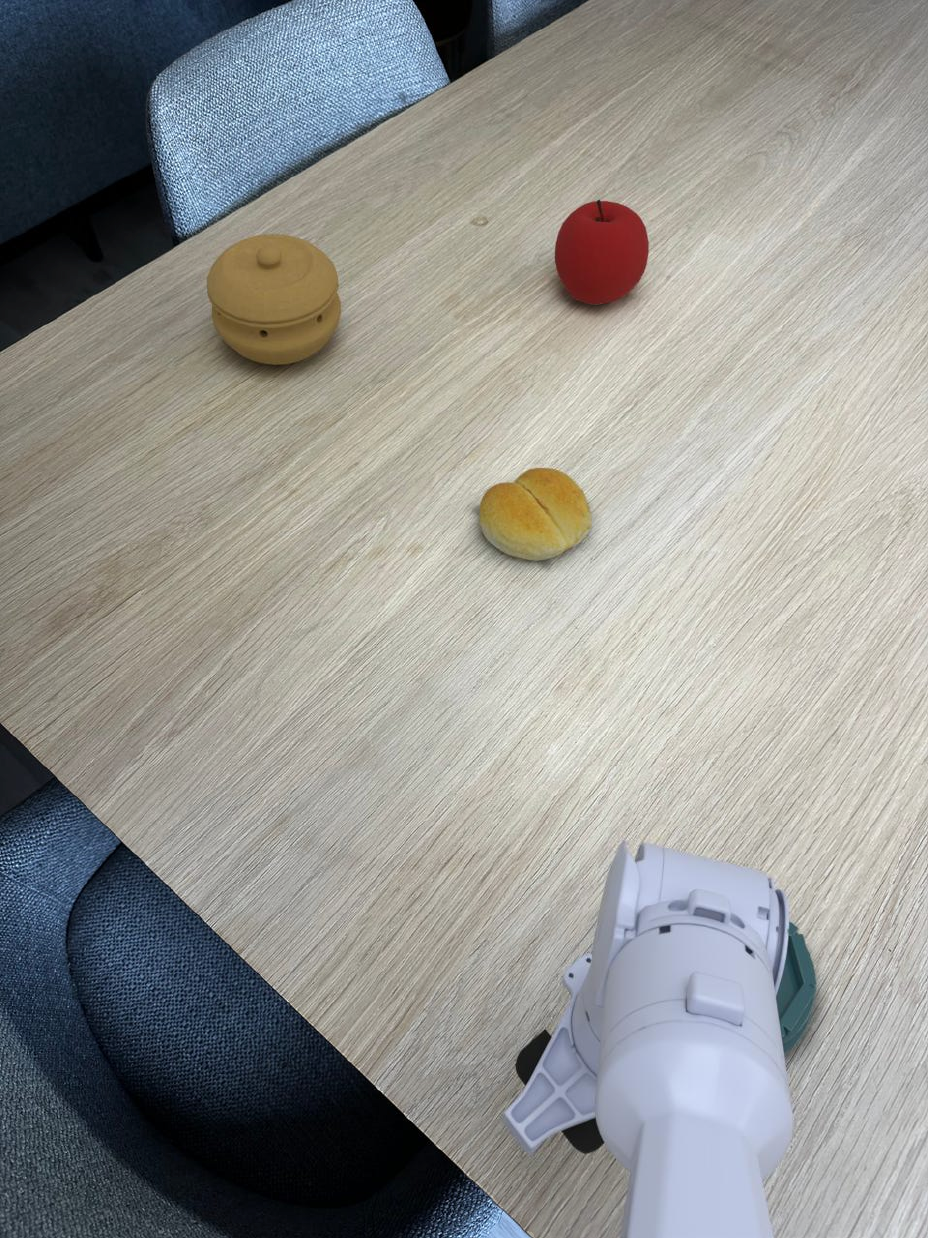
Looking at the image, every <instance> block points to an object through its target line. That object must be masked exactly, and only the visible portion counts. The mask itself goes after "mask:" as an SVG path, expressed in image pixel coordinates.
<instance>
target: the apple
mask: <svg viewBox="0 0 928 1238" xmlns="http://www.w3.org/2000/svg"><path fill="white" fill-rule="evenodd" d="M647 231H648V230H647V227H646V225H645V224H644V221H643V220H642V218H641V217H640V215H639V214H638V213H637V212H636V211H634V210H633V209H631V208H630V207H629V206H627V205H624V204H621V203H619V202H615V201H609V200H600V199H597V200H596V201H590V202H586V203H584V204H582V205H580V206H579V207H577V208H576V209H575V210H573V211H572V212H571V213H570V214H569V215H568V216H567V217H566V219H565V220H564V221H562V224H561V226H560V228H559V230H558V233H557V236H556V240H555V244H554V245H555V246H554V247H555V248H554V264H555V270H556V273H557V275H558V276H557V277H558V278H559V281H560V282H561V284H562V285H563V288H564V289H565V290H566V291H567V292H568V294H570V296H571V297H572V298H573V299H574V300H576V301H578V302H580V303H582V304H588V305H602V304H608V303H614V302H615V303H616V302H617V301H619V300H621V299H622V298H624V297H625V296H626V295H628V294H629V293H630V292H631V291H632V290H634V288H635V287H636V286H637V285H638V284H639V282H640V281H641V279H642V277H643V275H644V273H645V271H646V268H647V265H648V259H649V254H650V253H649V252H650V251H649V250H650V249H649V247H650V241H649V236H648V232H647Z"/></svg>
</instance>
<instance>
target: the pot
mask: <svg viewBox="0 0 928 1238" xmlns="http://www.w3.org/2000/svg"><path fill="white" fill-rule="evenodd" d="M206 290H207V291H206V293H207V296H208V299H209V302H210V305H211V320H212V324H213V326H214V329H215V331H216V332H217V333H218V335H219V336H220V338H221V339H222V340H223V341H224V342H225V343H226V344H227V345H228V346H229V347H230V348H231V349H233V350H234V351H235V352H236V353H238V354H239V355H240V356H242V357H245V358H246V359H248V360H251V361H253V362H256V363H259V364H264V365H271V366H272V365H273V366H276V365H278V366H279V365H289V364H294V363H298V362H301V361H303V360H306V359H308V358H310V357H312V356H313V355H315V354H317V353H318V352H319V351H320V350H321V349H322V348H323V347H324V346H325V345H327V343H328V342H329V340H330V339H331V337H332V336H333V334H334V333H335V331H336V329H337V328H338V325H339V322H340V320H341V319H340V318H341V316H342V302H341V299H340V296H339V294H338V290H339V276H338V271H337V269H336V267H335V264H334V262H333V261H332V260H331V259H330V258H329V257H328V256H327V254H326V253H325V252H324V251H322V249H320V248H319V247H317V246H315V245H314V244H313V243H311V242H309V241H307V240H304V239H302V238H300V237H297V236H294V235H289V234H280V233H265V234H259V235H253V236H250V237H246V238H244V239H241V240H239V241H237V242H235V243H234V244H232V245H231V246H229V247H227V249H225V250H224V251H222V252H221V254H219V256H218V257H217V259H215V261H214V262H213V263H212V265H211V267H210V269H209V272H208V274H207V276H206Z"/></svg>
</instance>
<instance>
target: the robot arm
mask: <svg viewBox="0 0 928 1238" xmlns="http://www.w3.org/2000/svg"><path fill="white" fill-rule="evenodd" d="M789 907H790V905H789V900H788V897H787V893H786V892H785V890H784V889H780V888H778V889H776V884H775V879H774V878H773V877H768V875H767V873H766V872H765V871H762V870H759V869H757V868H756V869H755V868H752V867H748V866H743V865H739V864H735V863H731V862H728V861H722V860H719V859H716V858H711V857H707V856H703V855H698V854H695V853H690V852H687V851H682V850H678V849H673V848H671V847H666V846H661V845H658V844H653V843H650V842H645V841H642V842H641V843H640V844H639V846H638V849H637V852H636V854H635V857H634V856H633V855H632V853H631V851H628V843H627V840H626V839H624V838H623V839H622V840H621V842H620V844H619V846H618V848H617V850H616V853H615V855H614V857H613V858H612V861H611V863H610V866H609V869H608V872H607V876H606V879H605V883H604V888H603V893H602V896H601V900H600V906H599V911H598V913H597V914H598V915H597V920H596V926H595V929H594V930H595V931H594V936H593V944H592V952H591V953H590V952H587V953H584V954H582V955H581V956H580V957H579V958H577V959H576V960H575V961H574V962H573V963H571V964H570V965H569V966H568V967H566V968H565V970H564V972H563V974H562V976H561V977H562V979H561V983H562V985H563V986H564V988H565V989H566V991H568V993H569V995H570V1001H569V1003H568V1005H567V1007H566V1009H565V1010H564V1013H563V1015H562V1017H561V1019H560V1021H559V1022H558V1025H557V1026H556V1028H555V1030H554V1032H553V1034H552V1035H551V1034H550V1033H549V1032H548V1030H547V1029H546V1028H544V1029H543V1030H542V1031H541V1032H539V1033H538V1035H537V1036H535V1037H534V1038H533V1039H532V1040H530V1041H529V1042H528V1044H526V1045H525V1046H524V1047H522V1049H521V1050H520V1051H519V1053H518V1055H517V1057H516V1060H515V1065H514V1068H515V1072H516V1075H517V1077H518V1078H519V1080H520V1081H521V1082H522V1084H523V1085H524V1088H523V1089H522V1090H521V1093H520V1094H519V1095H518V1096H517V1097H516V1098H515V1100H514V1101H513V1102H512V1103H511V1104H510V1105H509V1106H508V1107H507V1108H506V1109H505V1110H504V1111H503V1113H502V1117H501V1122H502V1124H503V1125H504V1126H505V1128H506V1129H507V1130H508V1132H509V1133H510V1135H511V1136H512V1137H513V1139H514V1140H515V1141H516V1143H517V1144H518V1145H519V1146H520V1147H521V1149H522V1150H523V1151H524V1153H525V1154H526V1155H527V1156H531V1155H532V1154H533V1153H534V1152H535V1151H537V1149H539V1148H540V1147H541V1146H542V1144H543V1143H544V1142H545V1141H546V1140H547V1139H549V1138H550V1137H552V1136H554V1135H556V1134H558V1133H561V1134H562V1135H563V1136H564V1138H566V1139H567V1141H568V1142H569V1144H570V1145H571V1146H572V1147H573V1148H574V1149H575V1150H576V1151H578V1152H580V1153H582V1154H584V1155H587V1154H591V1153H594V1152H596V1151H597V1150H599V1149H600V1148H601V1147H602V1146H603V1145H605V1146H606V1148H607V1149H608V1151H609V1152H610V1153H611V1155H612V1156H613V1157H614V1158H615V1159H616V1161H617V1163H619V1164H620V1165H621V1166H622V1167H623V1168H624V1169H625V1170H626V1171H627V1172H629V1175H628V1177H629V1178H628V1182H627V1188H626V1189H627V1190H626V1194H625V1195H626V1196H625V1203H624V1209H623V1214H622V1215H623V1216H622V1221H621V1222H622V1223H621V1227H620V1229H621V1230H620V1236H619V1238H775V1236H774V1230H773V1226H772V1222H771V1217H770V1212H769V1211H770V1210H769V1206H768V1202H767V1195H766V1192H765V1187H764V1182H763V1181H765V1180H767V1178H769V1177H770V1176H772V1175H773V1173H774V1172H775V1171H776V1169H778V1167H779V1165H780V1164H781V1163H782V1161H784V1160H785V1157H786V1155H787V1152H788V1150H789V1148H790V1145H791V1141H792V1137H793V1133H794V1114H793V1106H792V1100H791V1093H790V1086H789V1077H788V1073H787V1066H786V1058H785V1055H784V1051H783V1044H782V1037H781V1030H780V1023H779V1016H778V1009H777V1002H776V995H777V992H778V988H779V985H780V982H781V978H782V974H783V970H784V965H785V960H786V954H787V946H788V935H789V921H790V908H789Z"/></svg>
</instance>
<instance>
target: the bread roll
mask: <svg viewBox="0 0 928 1238" xmlns="http://www.w3.org/2000/svg"><path fill="white" fill-rule="evenodd" d="M584 492H585V491H584V490H583V489H582V488H581V487H580V486H579V484H578V483H577V481H575V480H574V478H573V477H572V476H571V475H569V474H567V473H566V472H563V471H561V470H559V469H556V468H549V467H535V468H530V469H527V470H526V471H524V472H523V473H521V474H520V475H519V476H518V477H517V478H516V479H515V480H514V481H513V482H500V483H497V484H494V485H492V486H491V487H489V489H487V490H486V491H485V492H484V494H483V496H482V498H481V501H480V504H479V509H478V517H479V525H480V529H481V531H482V534H483V535H484V537H485V539H486V540H487V541H488V543H490V544H491V545H492V546H493V547H494V548H495V549H497V550H498V551H500V552H502V553H504V554H506V555H508V556H512V557H515V558H519V559H522V560H527V561H533V562H535V561H536V562H537V561H545V560H549V559H552V558H555V557H558V556H560V555H562V554H563V553H564V552H565V551H567V550H569V549H572V548H574V547H576V546H577V545H579V544H580V543H581V542H582V541H583V540H584V539H586V537H587V536H588V534H589V532H590V531H591V529H592V527H593V523H592V522H593V521H592V516H591V511H590V506H589V503H588V500H587V497H586V495H585V493H584Z"/></svg>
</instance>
